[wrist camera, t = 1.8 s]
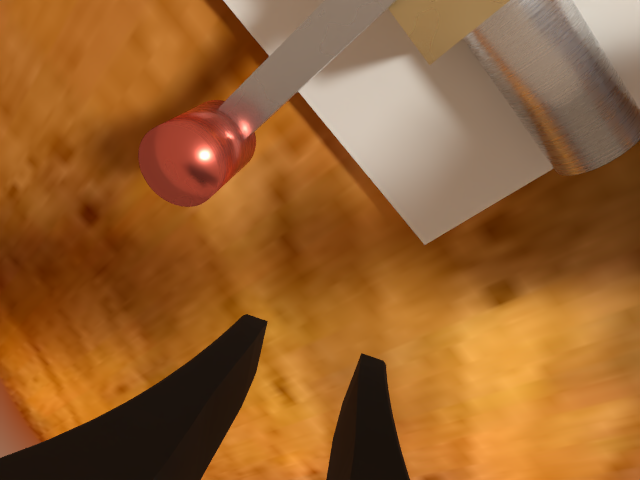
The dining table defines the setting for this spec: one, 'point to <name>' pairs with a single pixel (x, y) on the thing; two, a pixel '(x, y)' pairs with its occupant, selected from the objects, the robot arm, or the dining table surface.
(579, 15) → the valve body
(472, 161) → the valve board
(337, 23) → the valve lever
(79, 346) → the dining table surface
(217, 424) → the robot arm
